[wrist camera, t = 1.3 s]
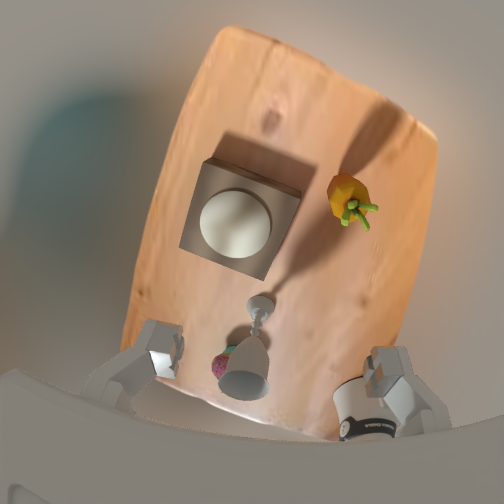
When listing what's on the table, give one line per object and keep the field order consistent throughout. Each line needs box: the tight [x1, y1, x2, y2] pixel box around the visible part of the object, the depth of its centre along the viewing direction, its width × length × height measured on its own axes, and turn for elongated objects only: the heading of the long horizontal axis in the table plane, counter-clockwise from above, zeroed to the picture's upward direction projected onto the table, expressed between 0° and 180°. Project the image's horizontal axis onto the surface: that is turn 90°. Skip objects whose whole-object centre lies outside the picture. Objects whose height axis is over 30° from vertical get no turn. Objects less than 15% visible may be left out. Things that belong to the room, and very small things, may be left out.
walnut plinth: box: [179, 157, 301, 281], centre depth 43 cm, size 14×14×4 cm
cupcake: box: [212, 346, 237, 393], centre depth 54 cm, size 9×8×12 cm
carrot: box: [327, 174, 378, 231], centre depth 34 cm, size 5×5×15 cm
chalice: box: [218, 296, 275, 401], centre depth 45 cm, size 7×7×18 cm
